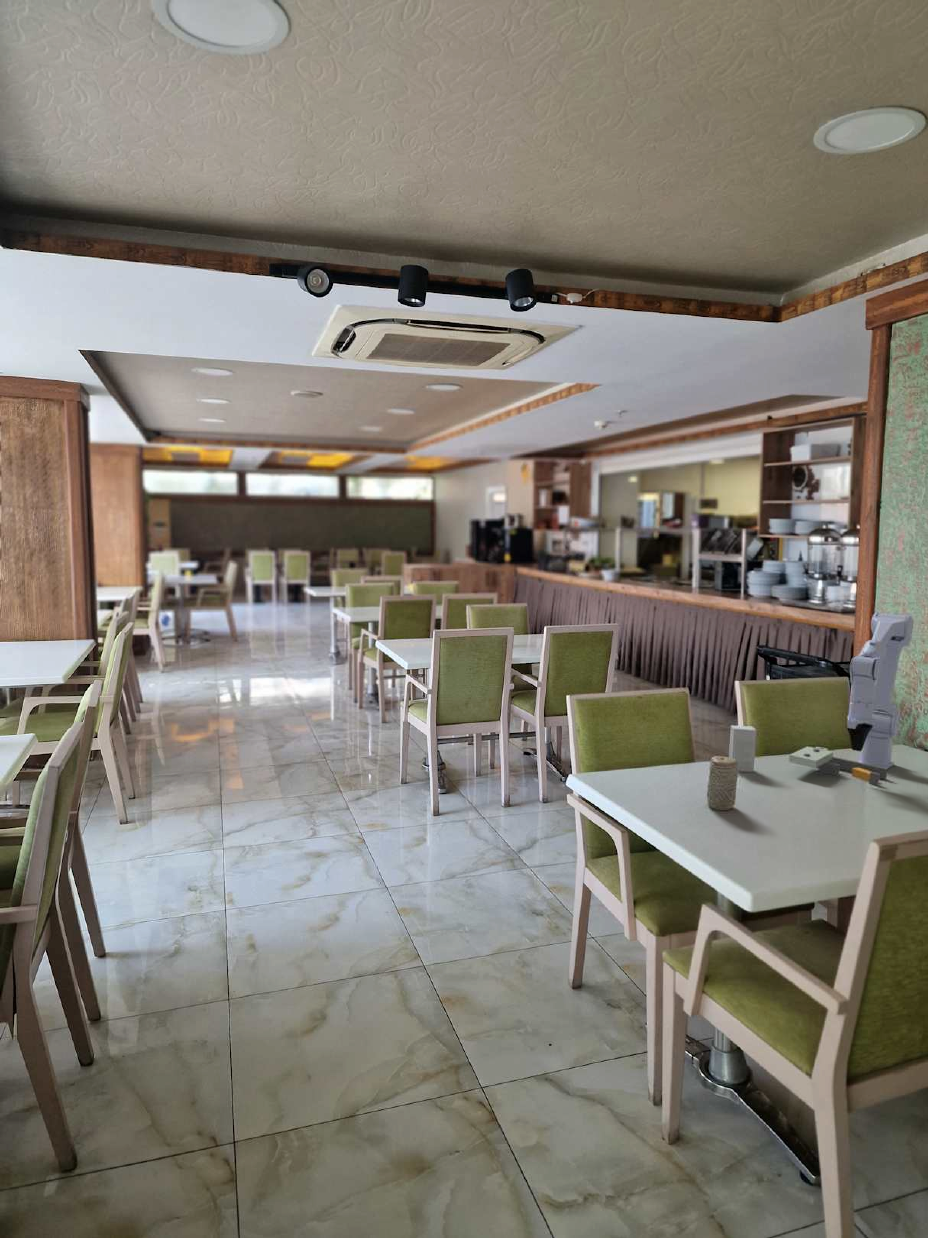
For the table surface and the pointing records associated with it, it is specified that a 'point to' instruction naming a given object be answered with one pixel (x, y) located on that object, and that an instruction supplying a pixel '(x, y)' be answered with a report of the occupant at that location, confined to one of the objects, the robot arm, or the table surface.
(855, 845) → the table surface
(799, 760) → the cover
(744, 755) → the skincare box
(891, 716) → the robot arm
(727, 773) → the carving
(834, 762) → the long grey beam
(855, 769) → the orange cuboid brick
